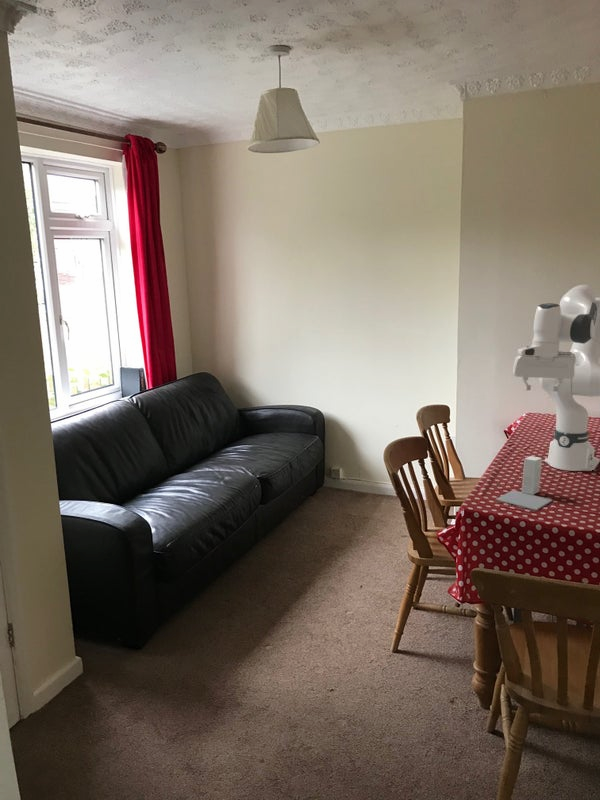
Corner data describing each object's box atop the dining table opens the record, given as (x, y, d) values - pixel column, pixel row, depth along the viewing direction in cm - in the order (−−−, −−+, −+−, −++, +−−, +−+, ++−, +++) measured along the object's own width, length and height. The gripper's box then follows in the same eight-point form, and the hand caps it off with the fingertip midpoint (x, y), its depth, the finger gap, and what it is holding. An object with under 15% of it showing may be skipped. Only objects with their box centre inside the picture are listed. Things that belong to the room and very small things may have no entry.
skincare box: (526, 489, 231) (530, 455, 230) (539, 491, 229) (542, 457, 227) (520, 492, 227) (524, 458, 225) (533, 495, 224) (536, 460, 223)
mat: (512, 491, 230) (512, 490, 230) (552, 501, 220) (552, 499, 220) (495, 500, 221) (495, 499, 221) (535, 510, 212) (536, 509, 212)
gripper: (573, 351, 231) (569, 391, 233) (513, 349, 233) (510, 388, 235) (579, 352, 225) (575, 393, 227) (517, 350, 227) (514, 390, 229)
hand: (541, 390), depth 231 cm, fingers open, 8 cm apart
